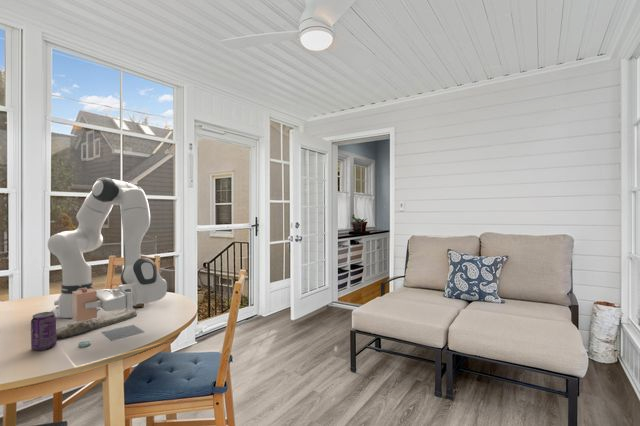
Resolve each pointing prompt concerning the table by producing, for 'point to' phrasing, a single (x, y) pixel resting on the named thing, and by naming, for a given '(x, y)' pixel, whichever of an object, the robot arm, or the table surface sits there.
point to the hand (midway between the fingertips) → (81, 303)
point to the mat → (122, 332)
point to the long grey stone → (93, 324)
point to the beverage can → (43, 330)
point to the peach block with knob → (78, 304)
